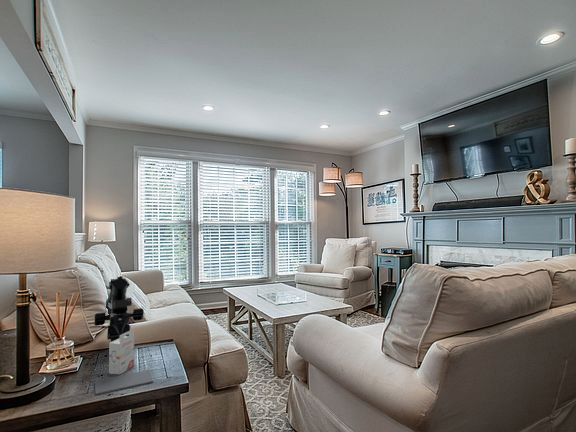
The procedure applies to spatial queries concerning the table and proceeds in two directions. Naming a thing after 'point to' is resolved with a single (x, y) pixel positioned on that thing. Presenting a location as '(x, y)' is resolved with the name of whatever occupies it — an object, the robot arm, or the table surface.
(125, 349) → the ink cartridge box
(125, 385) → the charcoal mat
